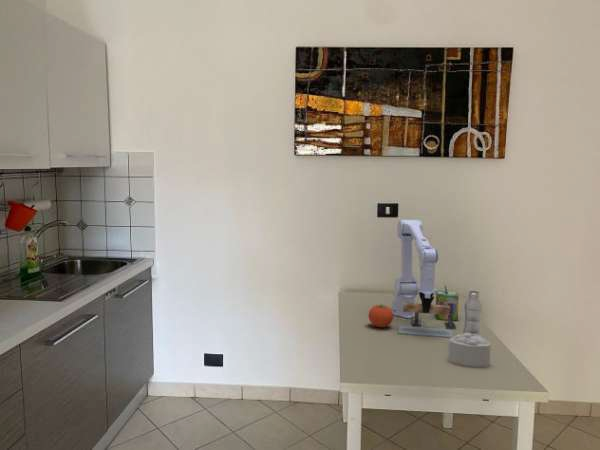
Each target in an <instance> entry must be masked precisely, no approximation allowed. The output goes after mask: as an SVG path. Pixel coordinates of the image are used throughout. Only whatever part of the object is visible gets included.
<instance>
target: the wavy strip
mask: <svg viewBox="0 0 600 450" xmlns="http://www.w3.org/2000/svg"><path fill="white" fill-rule="evenodd" d="M403 312H414V313H419V314H424V313H423V307H422V303H415V302H414V303H403ZM449 312H450V307H449V306H445V305H436V304H431V306H430V310H429V313H427V314H429V315H430V314H432V315H435V314H442V315H449Z"/></svg>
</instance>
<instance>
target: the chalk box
mask: <svg viewBox="0 0 600 450" xmlns="http://www.w3.org/2000/svg"><path fill="white" fill-rule="evenodd" d="M435 305H445V306H449V307H450V311H452V314H453V321H456V322H458V321H459V294H458V292H456V291H450V290H448V289H447V286H446V285H445V284H444V290H437V292H435ZM434 315H435V318H436V320H439V321H441V320H442V321H448V315H442V314H434Z"/></svg>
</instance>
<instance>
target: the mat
mask: <svg viewBox="0 0 600 450" xmlns="http://www.w3.org/2000/svg"><path fill="white" fill-rule="evenodd" d="M397 327H398V335H406V336H407V335H408V336H409V335H410V336H420V337H421V336H422V337H435V338H443V339H447V338H448V339H450V338H452V337H454V336H453V333H452V329H445V328H444V329H442V328H430V327H428V328H427V327H420V326H404V325H398V326H397Z"/></svg>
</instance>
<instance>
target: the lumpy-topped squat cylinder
mask: <svg viewBox="0 0 600 450" xmlns="http://www.w3.org/2000/svg"><path fill="white" fill-rule="evenodd" d="M448 339H449V340H448V352H447V353H448V355H447V358H448V359H447V360H448V361H449V362H450V363H453V364H457V365H460V366H465V367H471V368H472V367H473V368H474V367H479V368H482V367H483V368H484V367H489V366H490V359H491V356H490V355H491V343H490V342H488V341H487V339H486V338H484V337H482V335H480V336H479V335H475V336H471V334H469V333H463V332H462V334H456V335H455V336H453V337H452V338H448Z"/></svg>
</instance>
